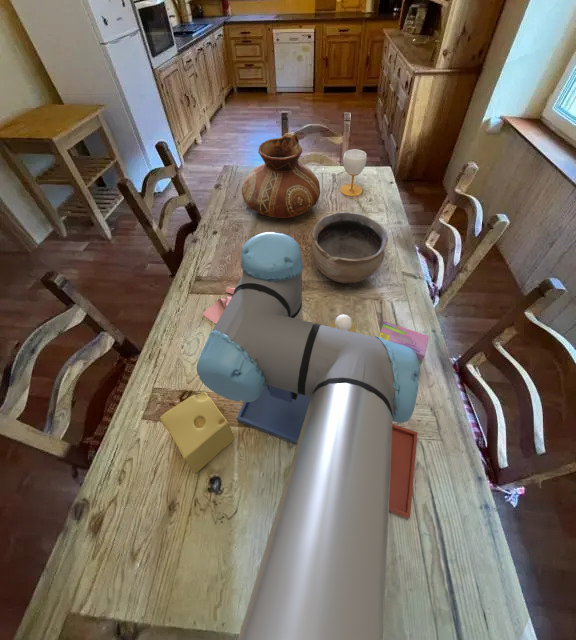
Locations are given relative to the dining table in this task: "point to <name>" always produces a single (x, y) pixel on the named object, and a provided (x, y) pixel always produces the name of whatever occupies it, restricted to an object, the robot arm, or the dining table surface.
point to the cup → (353, 170)
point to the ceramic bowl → (348, 246)
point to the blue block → (280, 393)
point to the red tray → (402, 470)
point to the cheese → (198, 430)
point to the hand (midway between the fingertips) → (284, 388)
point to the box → (405, 338)
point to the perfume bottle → (343, 323)
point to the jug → (281, 180)
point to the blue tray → (275, 415)
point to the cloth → (218, 307)
